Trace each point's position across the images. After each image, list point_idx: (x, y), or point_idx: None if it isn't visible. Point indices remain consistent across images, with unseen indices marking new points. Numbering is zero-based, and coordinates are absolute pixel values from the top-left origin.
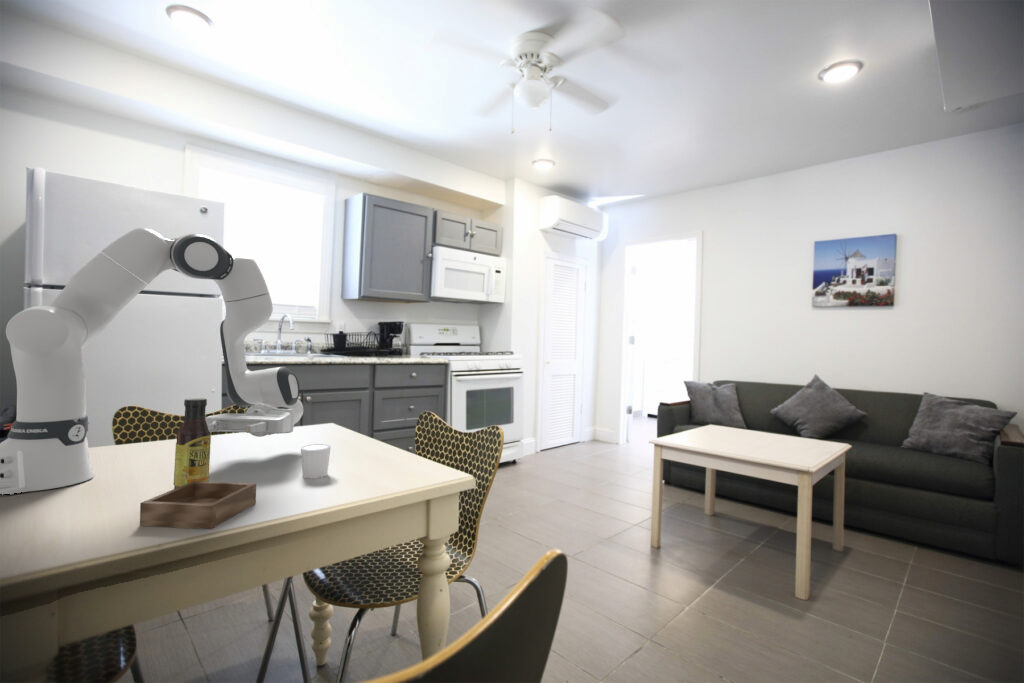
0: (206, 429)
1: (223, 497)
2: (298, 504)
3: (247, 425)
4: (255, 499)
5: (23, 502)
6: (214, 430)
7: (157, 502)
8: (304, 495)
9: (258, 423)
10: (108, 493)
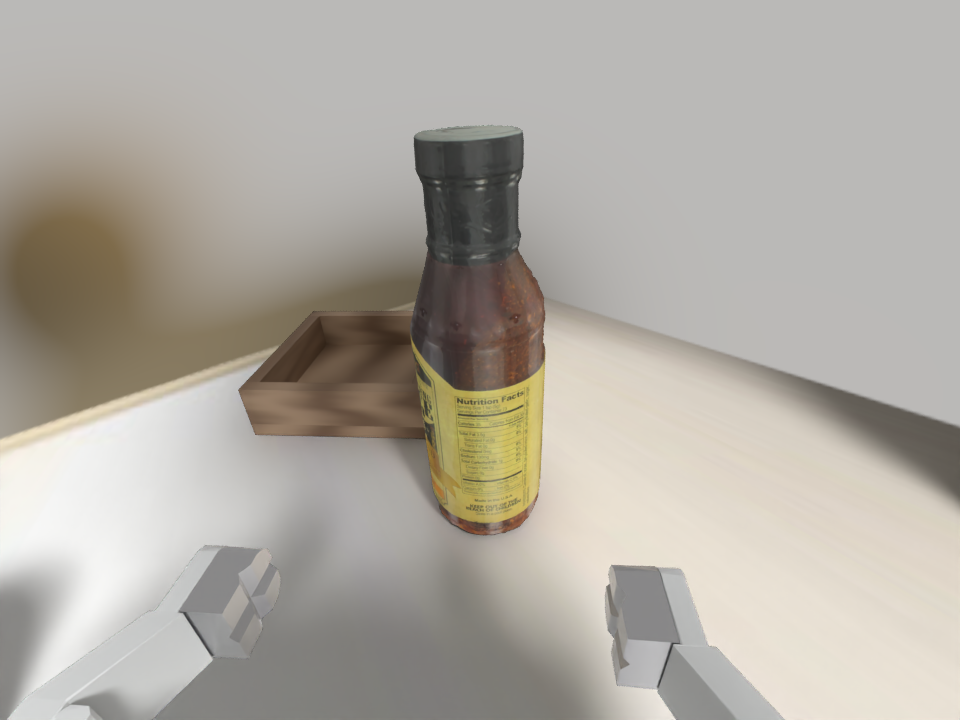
0: (417, 297)
1: (303, 332)
2: (142, 437)
3: (250, 553)
4: (252, 424)
5: (853, 406)
6: (606, 608)
7: None
8: (102, 493)
9: (115, 658)
10: (736, 469)
